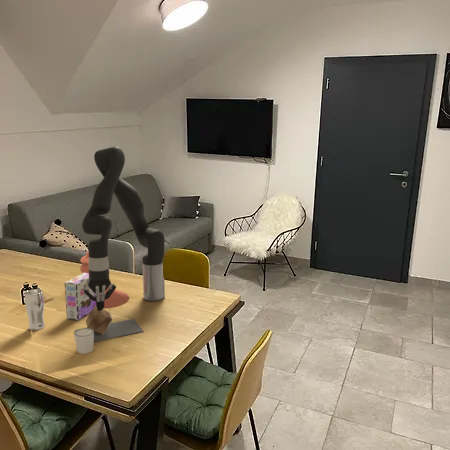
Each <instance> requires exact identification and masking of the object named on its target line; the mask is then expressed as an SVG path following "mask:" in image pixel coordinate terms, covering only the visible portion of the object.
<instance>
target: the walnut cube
mask: <svg viewBox="0 0 450 450" xmlns="http://www.w3.org/2000/svg"><path fill="white" fill-rule="evenodd" d="M113 322H114V318H113V316H112V313H111V312H110V311H108V310H106V309H103V310H100V311H99V310H98V309H97V307H96V305H95V307H94V308H93V310H92V311H91V312H90V313H89V314H88V316H87V317H86V319H85V323H86V328H89V329H93V330H94V331H96V332H98V333H100V334H102V335H103V334H104V333H105V331H106V330H107V328H108V327H109V325H110V324H111V323H113Z"/></svg>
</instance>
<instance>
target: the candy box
mask: <svg viewBox="0 0 450 450" xmlns="http://www.w3.org/2000/svg"><path fill="white" fill-rule="evenodd" d="M88 283H89V273H81V274H79V275H77V276H75V277H73V278H71V279H69V280H67V281H65V282H64V289H65V290H64V291H65V292H64V293H65V309H66V310H65V311H66V319H68V320H74V321H80V320H81V319H83V318H84V317H86V316H87V315H89V314H90V313H91V311H92V310H93V308H94V307H95V305H96V301H92V300H91V299H90V298H89V297H88V296H87V295H86V294H85V293H84V292H83V288H86V287H87V286H88ZM89 290H90V293H91V294H92V295H93V296H94V297H95V293H94V292H93V291H92V290H91V289H89Z"/></svg>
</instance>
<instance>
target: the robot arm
mask: <svg viewBox="0 0 450 450" xmlns="http://www.w3.org/2000/svg"><path fill="white" fill-rule="evenodd" d="M93 159H94V163H95V165H96V167H97V170H98V171H99V172H100V173H101V175H102V177H103V178H102V180H101V181H100V183H99V184H98V185H97V187H96V189H95V190H94V193H93V196H92V197H93V198H92V202H91V206H90V207H89V209H88V211H87V213H86V214H85V216H84V218H83V219H82V224H81V228H82V231H83V232H84V233H85V234H86V235H97V236H98V235H99V236H100V238H98V239H93V240H89V242H88V244H87V245H88V246H87V247H88V249H87V250H88V251H89V260H88V267H89V283H88V286H87V287H86V288H83V292H84V293H85V294H86V295H87V296H88V297H89V298H90V299H91V300H92V301H96V307H97V309H98V310H99V311H100V310H103V308H104V300H105V299H108V298H109V297H110V296H111V294H112V293H113V292H114V290H115V289H116V290H117V286H116V285H115V283H112V282H111V279H110V262H109V261H110V260H109V252H108V251H109V249H108V248H109V247H108V243H109V238H110V235H111V230H112V228H113V223H112V220H111V218H110V217H109V216H107V214H108V213H110V210H111V207H112V202H113V196H115V197H116V199H117V202H118V204H119V205H120V207H121V208H122V210H123V212H124V214H125V215H126V217H127V219H128V221H129V224H130V225H131V227H132V229H133V232H134V233H135V236H136V239H137V241H138V242H139V244H140V246H141V247H144V248H146V249H147V254H145V255H143V257H142V258H141V259H142V261H141V262H142V285H143V287H142V289H143V290H142V291H143V293H142V295H143V300H145V301H148V302H155V301H156V302H157V301H160V300H162V299H165V298H166V295H165V294H166V293H165V291H166V290H165V288H166V287H165V285H166V284H165V278H164V275H163V274H164V273H163V272H164V271H163V270H164V267H163V266H164V265H163V263H164V262H163V259H164V255H165V242H166V241H165V236H164V234H163V233H164V232H163V231H161V230H159V229H156V228H153V227H151V226H150V225H149V223H148V221H147V220H146V219H147V218H146V217H145V206H144V205H145V204H144V202H143V200H142V197H141V196H140V194H139V191H138V189H136V188H135V187H134V186H133V185H131V184H130V183H128V181H125V180H124V179H123V178H121V174H122V172H123V169H124V166H125V163H126V162H125V161H126V155H125V153H124V150H123V149H122V148H120V147H119V146H110V147H106V148H103V149H102V148H101V149H100V150H99V149H98V150H96V151H95V153H94V154H93ZM108 287H109V289H108ZM89 289H91V290H92V291H93V292H94V293H95V297H94V296H93V295H92V294H91V293H90V290H89ZM107 289H108V291H107V292H106V294H105V291H106V290H107ZM99 293H100V294H99Z"/></svg>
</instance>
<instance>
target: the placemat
mask: <svg viewBox="0 0 450 450" xmlns="http://www.w3.org/2000/svg"><path fill="white" fill-rule="evenodd" d="M84 328H85V327H82V328H77V329H74V333H75V332H76V331H77V330H80V329H84ZM139 333H144V330H143V328H142V327H141V326H140V324H139V323H138V322H137V321H136V319H135V318H130V319H125V320H119V321H115V322H114V321H112V322H111V324H110V325H109V327H108V328H107V330H106V331H105V333H104V334H103V335H102V334H100V333H98V332H96V331H94V342H93V343H98V342H100V341H101V342H102V341H105V340H110V339H116V338H120V337H121V338H122V337H126V336H130V335H134V334H139Z"/></svg>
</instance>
